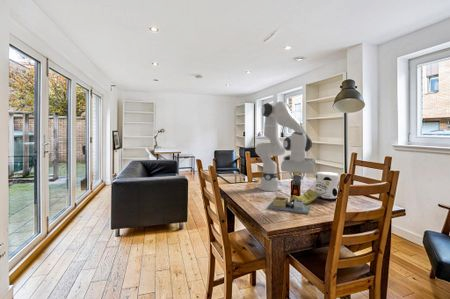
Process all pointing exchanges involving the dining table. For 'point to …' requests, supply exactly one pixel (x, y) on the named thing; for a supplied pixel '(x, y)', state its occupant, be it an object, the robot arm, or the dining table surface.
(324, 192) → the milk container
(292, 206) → the manifold
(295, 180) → the valve stub
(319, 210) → the dining table surface
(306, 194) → the plastic component
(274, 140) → the robot arm
